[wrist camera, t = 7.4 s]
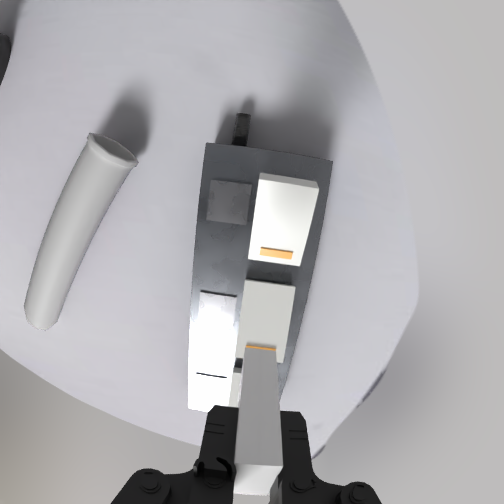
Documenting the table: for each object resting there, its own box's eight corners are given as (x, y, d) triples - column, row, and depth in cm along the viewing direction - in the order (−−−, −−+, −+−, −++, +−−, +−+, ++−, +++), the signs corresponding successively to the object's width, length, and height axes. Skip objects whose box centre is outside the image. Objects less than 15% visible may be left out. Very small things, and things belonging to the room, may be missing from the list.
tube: (14, 310, 26) (81, 127, 20) (43, 303, 31) (119, 140, 25) (32, 343, 25) (107, 156, 19) (62, 332, 30) (147, 167, 24)
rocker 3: (245, 279, 24) (244, 280, 22) (292, 285, 24) (295, 287, 22) (235, 351, 23) (234, 357, 22) (281, 357, 23) (283, 363, 22)
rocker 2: (259, 172, 19) (259, 179, 18) (316, 181, 19) (319, 189, 18) (249, 248, 23) (247, 260, 21) (298, 255, 23) (299, 267, 22)
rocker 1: (233, 367, 26) (232, 372, 25) (273, 371, 26) (274, 377, 25) (226, 419, 26) (225, 426, 24) (263, 423, 26) (264, 430, 24)
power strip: (218, 114, 23) (210, 104, 19) (327, 130, 23) (339, 124, 19) (194, 388, 32) (187, 411, 28) (273, 399, 32) (274, 423, 28)
